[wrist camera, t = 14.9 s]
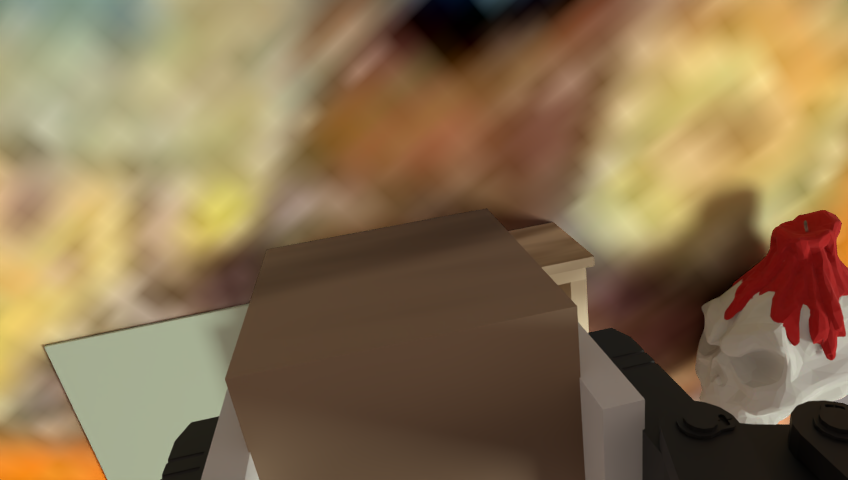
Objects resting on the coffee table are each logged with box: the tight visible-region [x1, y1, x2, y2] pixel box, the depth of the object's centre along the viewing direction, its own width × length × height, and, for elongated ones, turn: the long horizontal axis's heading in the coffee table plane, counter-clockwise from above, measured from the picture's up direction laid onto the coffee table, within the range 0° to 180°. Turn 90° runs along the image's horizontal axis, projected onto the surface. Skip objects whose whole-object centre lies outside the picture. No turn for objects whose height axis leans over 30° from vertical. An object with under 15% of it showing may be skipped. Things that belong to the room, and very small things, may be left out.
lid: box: [44, 303, 249, 480], centre depth 37 cm, size 16×16×3 cm
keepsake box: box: [508, 222, 594, 333], centre depth 37 cm, size 18×17×6 cm
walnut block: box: [225, 209, 585, 480], centre depth 13 cm, size 6×6×6 cm
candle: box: [695, 210, 848, 424], centre depth 38 cm, size 9×11×15 cm
